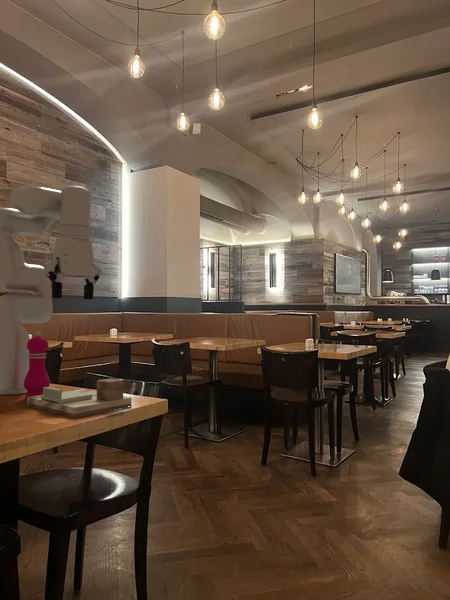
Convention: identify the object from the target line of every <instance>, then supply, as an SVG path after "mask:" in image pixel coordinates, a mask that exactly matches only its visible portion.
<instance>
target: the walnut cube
mask: <svg viewBox="0 0 450 600" xmlns="http://www.w3.org/2000/svg"><path fill="white" fill-rule="evenodd" d="M124 383H125V382H124V379H117V378H107V379H98V380H96V391H97V399H99V400H104V401H113V400H119V399H123V396H124V385H125V384H124Z"/></svg>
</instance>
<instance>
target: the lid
mask: <svg viewBox="0 0 450 600" xmlns="http://www.w3.org/2000/svg"><path fill="white" fill-rule="evenodd" d="M67 391H68V392H67ZM67 391H63V390H62V389H59V388H54V387H50V386H49V387H43V395H41V400H50V401H55V402H59V404H63V403H69V402H75V401H81V400H87V399H92V394H87V393H81V392H76V391H73V390H67Z"/></svg>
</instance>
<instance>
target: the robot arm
mask: <svg viewBox="0 0 450 600" xmlns="http://www.w3.org/2000/svg"><path fill="white" fill-rule="evenodd" d="M91 196H92V194H91V191H90V190H89V189H87V188H85V187H82V186H78V185H69V186H64V187H63V188H62V189H61V190H57V189H52V188H47V187H43V186H32V185H27V186H26V185H25V186H23V185H22V186H20V187H19V186H18V187H16V188H14V190H13V191H12V192H11V194H10V202H11V205H12V206H13V208H11V207H0V289H1V290H3V291H7V292H14V293H7V294H3V295H0V396H1V395H2V396H4V395H5V396H10V395H21V394H25V393H26V392H27V390H26V389H25V388H24V380H25V377H26V375H27V373H28V370H29V367H30V358H28V357H29V353H30V352H29V350H28V349H27V343H28V341H29V340H30V339H31V338H30V335H29V332H28V330H27V329H26V328H25V326H24V325H23V324H44V323H47V322H49V321H50V320H51V319H52V316H53V299H61V298H62V297H63V282H61V281H62V279H63V278H64V277H65V278H66V277H67V278H82V279H83V281H84V282H85V284H84V286H83V299H84V300H93V299H94V289H95V288H94V286H95V285H96V284H97V282H98V281H99V279H100V276H101V274H102V269H101V268H100V267H98V266H97V265H96V264H94V250H93V249H94V248H93V245H92V244H93V243H92V241H91V240H90V239H91V238H92V237H93V232H90V231H91V207H92V206H91V203H92V202H91V201H92V200H91V199H92V197H91ZM55 219H59V220H60V223H59V224H60V225H59V237H56V240H55V244H54V247H53V248H54V249H53V256H52V260H49V261H47V262H45V263H43V265H39V264H29V263H26V261H25V253H24V249H23V247H22V246H21V244H20V243H19V242H18V241H17V240H16V239H15V238H14V237H13V236H20V237H27V238H36V239H37V238H41V237H44V236H45V234H46V233H47V232H48V230H49V229H50V227H51V225H52V224H53V222H54V221H55ZM15 292H16V293H15ZM19 292H21V293H19ZM23 293H31V294H23Z"/></svg>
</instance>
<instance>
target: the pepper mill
mask: <svg viewBox="0 0 450 600" xmlns="http://www.w3.org/2000/svg"><path fill="white" fill-rule="evenodd" d="M27 349H28V350H29V357H28V358H29V370H28V373H27V375H26V377H25V380H24V388H25V389H26V390H27V392H26V393H24V399H25V400H26V401H27V397H32V396H39V395H43V387H49V388H50V384H51V383H50V382H51V381H50V376H49V375H48V372H47V369H46V365H45V364H46V363H45V362H46V358H47V352H46V351H47V350H48V349H49V341H48V339H47V338H45V337H42V332H40V331H35V333H34V336H33V337H31V338H30V340H29V341H28V343H27Z"/></svg>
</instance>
